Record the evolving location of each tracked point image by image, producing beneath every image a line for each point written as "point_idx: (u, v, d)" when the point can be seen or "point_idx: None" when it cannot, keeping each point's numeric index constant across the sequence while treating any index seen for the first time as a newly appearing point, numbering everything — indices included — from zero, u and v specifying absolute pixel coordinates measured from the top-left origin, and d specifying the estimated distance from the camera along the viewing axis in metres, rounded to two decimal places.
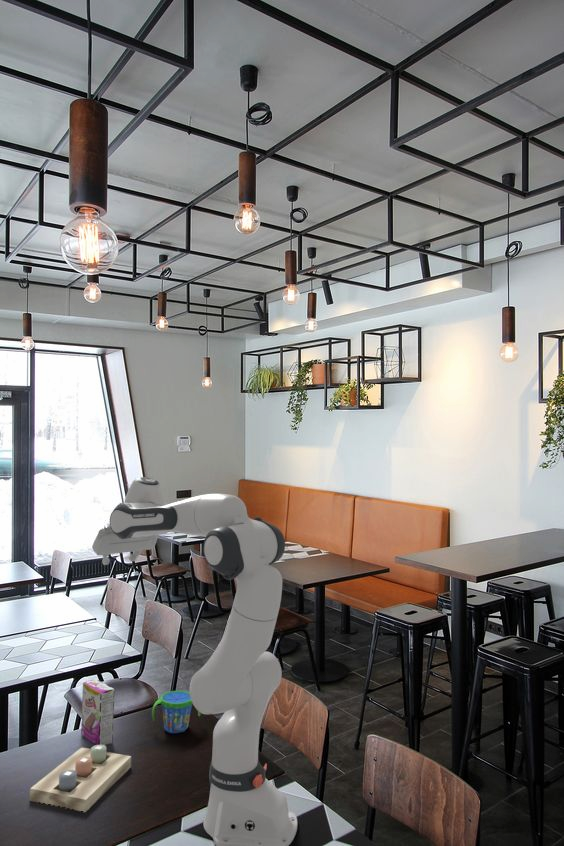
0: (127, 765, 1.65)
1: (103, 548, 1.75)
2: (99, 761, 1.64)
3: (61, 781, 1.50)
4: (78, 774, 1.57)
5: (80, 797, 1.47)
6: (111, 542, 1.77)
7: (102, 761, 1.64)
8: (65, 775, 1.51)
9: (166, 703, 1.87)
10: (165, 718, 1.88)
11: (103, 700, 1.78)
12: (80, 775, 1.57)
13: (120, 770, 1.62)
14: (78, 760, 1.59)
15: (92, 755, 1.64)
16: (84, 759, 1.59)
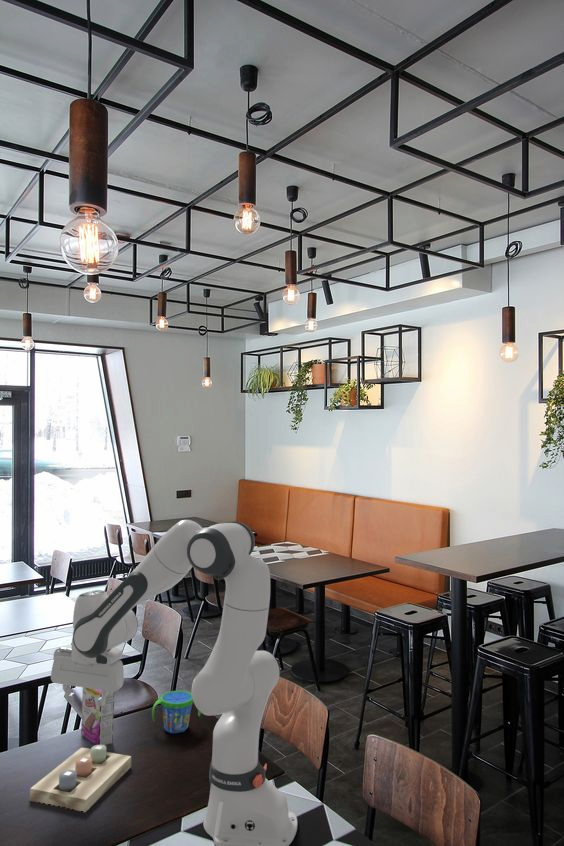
0: (127, 765, 1.65)
1: (55, 673, 1.61)
2: (99, 761, 1.64)
3: (61, 781, 1.50)
4: (78, 774, 1.57)
5: (80, 797, 1.47)
6: (64, 668, 1.61)
7: (102, 761, 1.64)
8: (65, 775, 1.51)
9: (166, 703, 1.87)
10: (165, 718, 1.88)
11: None
12: (80, 775, 1.57)
13: (120, 770, 1.62)
14: (78, 760, 1.59)
15: (92, 755, 1.64)
16: (84, 759, 1.59)
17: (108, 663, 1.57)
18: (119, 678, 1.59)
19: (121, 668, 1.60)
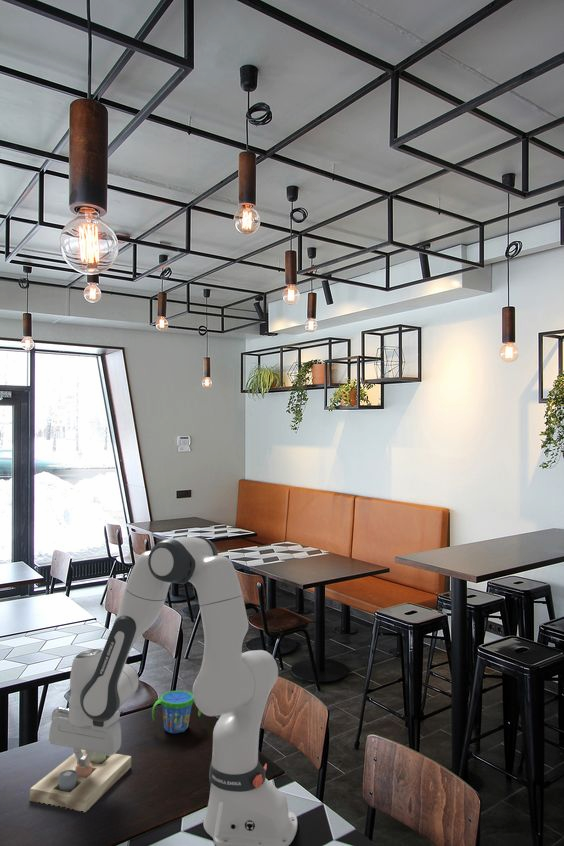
0: (127, 765, 1.65)
1: (53, 734, 1.60)
2: (99, 761, 1.64)
3: (61, 781, 1.50)
4: None
5: (80, 797, 1.47)
6: (61, 729, 1.60)
7: (102, 761, 1.64)
8: (65, 775, 1.51)
9: (166, 703, 1.87)
10: (165, 718, 1.88)
11: None
12: None
13: (120, 770, 1.62)
14: (78, 765, 1.59)
15: (92, 755, 1.64)
16: None
17: (105, 726, 1.55)
18: (116, 740, 1.57)
19: (118, 730, 1.58)
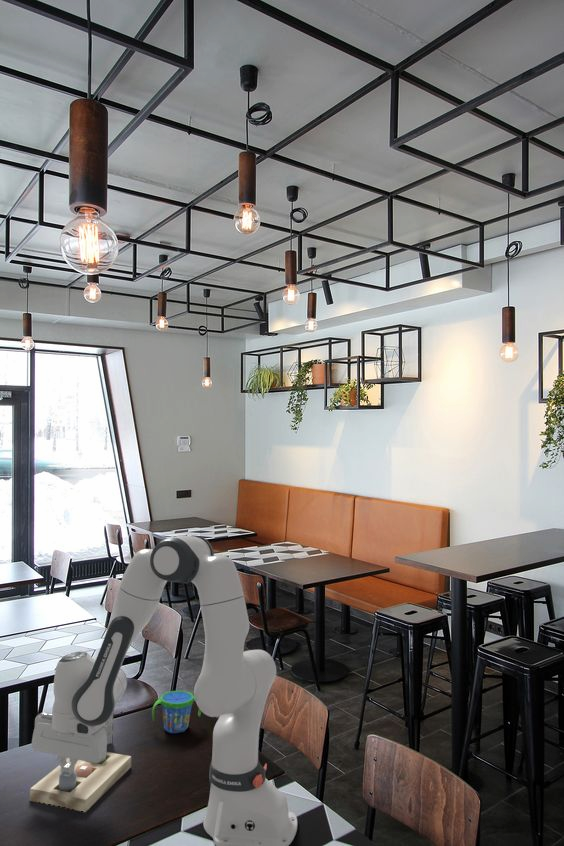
0: (127, 765, 1.65)
1: (36, 740, 1.54)
2: (99, 761, 1.64)
3: (61, 782, 1.50)
4: None
5: (80, 797, 1.47)
6: (45, 735, 1.53)
7: (102, 761, 1.64)
8: (65, 775, 1.51)
9: (166, 703, 1.87)
10: (165, 718, 1.88)
11: None
12: None
13: (120, 770, 1.62)
14: (78, 768, 1.59)
15: None
16: (84, 767, 1.59)
17: (89, 733, 1.48)
18: (101, 748, 1.50)
19: (104, 737, 1.51)
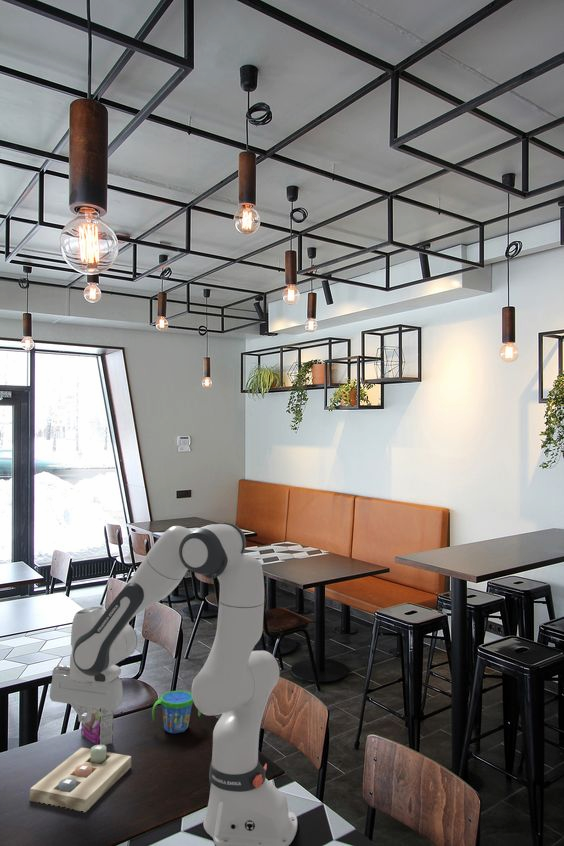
0: (127, 765, 1.65)
1: (54, 691, 1.60)
2: (99, 761, 1.64)
3: (61, 789, 1.50)
4: None
5: (80, 797, 1.47)
6: (62, 686, 1.60)
7: (102, 761, 1.64)
8: (65, 783, 1.51)
9: (166, 703, 1.87)
10: (165, 718, 1.88)
11: None
12: None
13: (120, 770, 1.62)
14: (78, 768, 1.59)
15: (92, 755, 1.64)
16: (84, 767, 1.59)
17: (106, 681, 1.55)
18: (118, 695, 1.57)
19: (120, 686, 1.58)
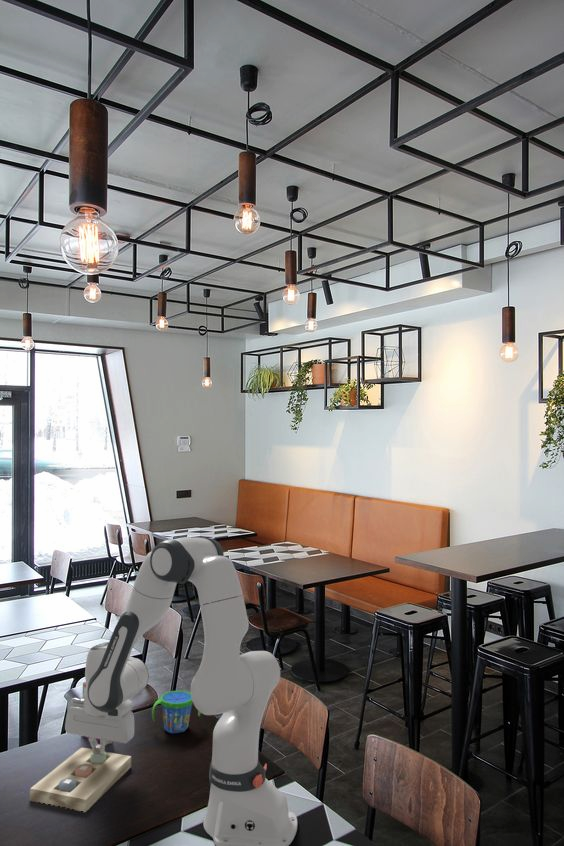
0: (127, 765, 1.65)
1: (69, 723, 1.67)
2: None
3: (61, 789, 1.50)
4: None
5: (80, 797, 1.47)
6: (77, 718, 1.66)
7: None
8: (65, 783, 1.51)
9: (166, 703, 1.87)
10: (165, 718, 1.88)
11: None
12: None
13: (120, 770, 1.62)
14: (78, 768, 1.59)
15: (92, 761, 1.64)
16: (84, 767, 1.59)
17: (119, 715, 1.61)
18: (130, 729, 1.63)
19: (132, 719, 1.65)
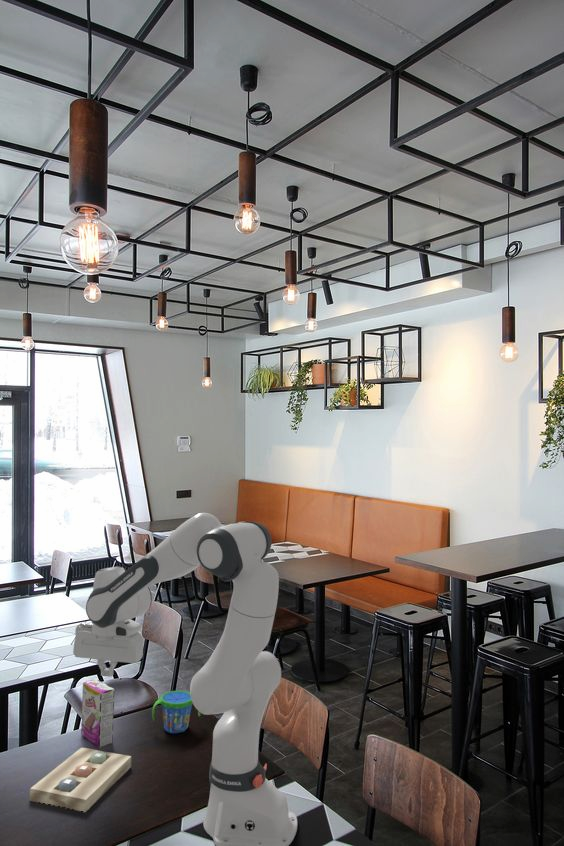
0: (127, 765, 1.65)
1: (77, 647, 1.67)
2: None
3: (61, 789, 1.50)
4: None
5: (80, 797, 1.47)
6: (85, 642, 1.67)
7: None
8: (65, 783, 1.51)
9: (166, 703, 1.87)
10: (165, 718, 1.88)
11: (103, 700, 1.78)
12: None
13: (120, 770, 1.62)
14: (78, 768, 1.59)
15: None
16: (84, 767, 1.59)
17: (127, 635, 1.62)
18: (138, 649, 1.64)
19: (140, 640, 1.65)
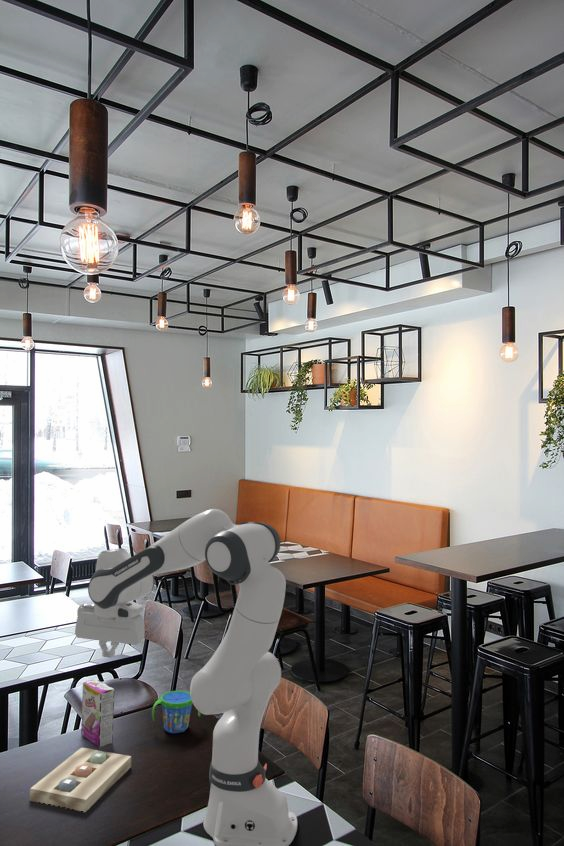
0: (127, 765, 1.65)
1: (79, 628, 1.67)
2: None
3: (61, 789, 1.50)
4: None
5: (80, 797, 1.47)
6: (87, 623, 1.67)
7: None
8: (65, 783, 1.51)
9: (166, 703, 1.87)
10: (165, 718, 1.88)
11: (103, 700, 1.78)
12: None
13: (120, 770, 1.62)
14: (78, 768, 1.59)
15: None
16: (84, 767, 1.59)
17: (129, 616, 1.62)
18: (140, 631, 1.64)
19: (142, 622, 1.65)
